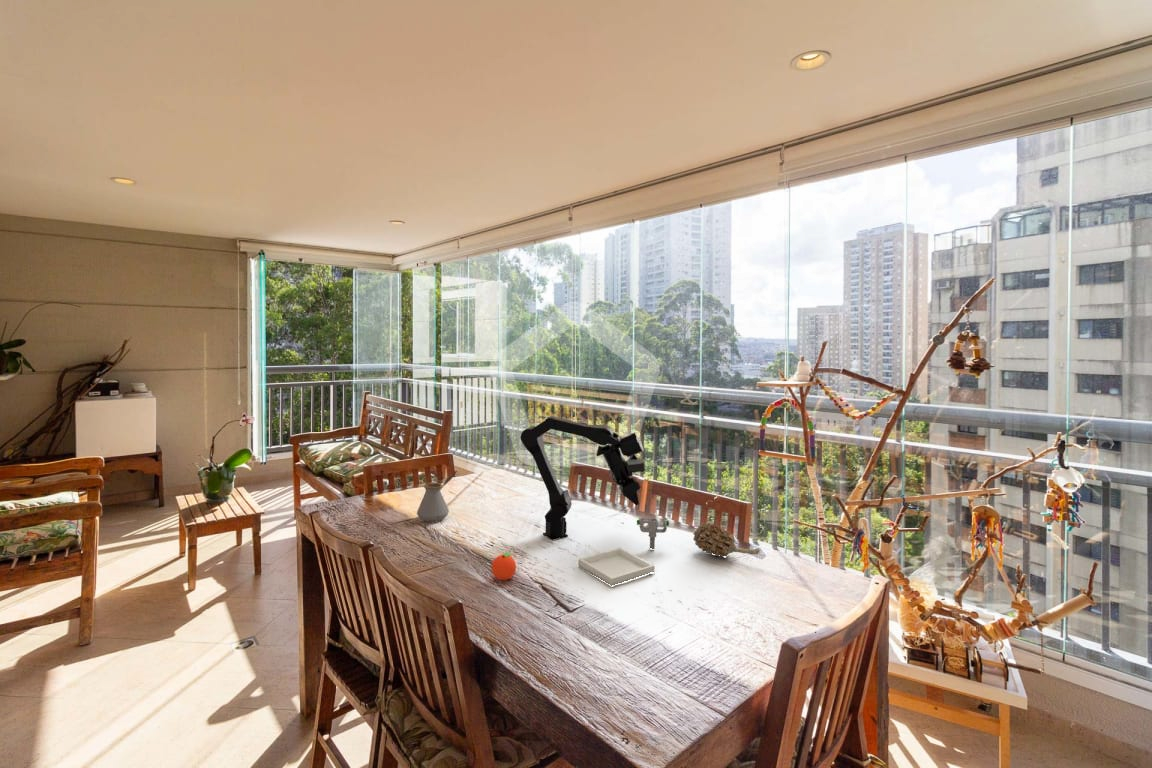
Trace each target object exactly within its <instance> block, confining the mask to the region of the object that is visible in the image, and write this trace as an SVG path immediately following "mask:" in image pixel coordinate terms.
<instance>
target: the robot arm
mask: <svg viewBox="0 0 1152 768" xmlns="http://www.w3.org/2000/svg"><path fill="white" fill-rule="evenodd" d="M550 430H553V431H559V432H563V433H566V434H570V435H575V436H578V437H583V438H586V439H588V440H589V441H591V442H593V443H596V444H598V448H597V450H596V452H595V453H596V457H599V456H600V457H601V456H603V457H604V460H605V462H606V464H607V467H608V469H609V471H608V473H609V475H610V476H611V479H612V480H613V481H614V482H615V483H616V484H617V485H618V486H619V487H618V488H619V491H620V492H621V494H622V495H623V497H625V498H627V499H628V500H629V501H630V502H632V503H633V504H634V505H635V506H638V505H640V501H639V497H638V496H639V495H638V491H639V490H640V489H641V484H640V482H639V480H637V479H636V478H634V477H632V476H634V473H644V472H645V471H646V466H645V461H644V460H643V458H641V457H637V454H640V453H643V452H644V446H643V443H642V441H641V439H640V438H639V437H638V434H637V433H636V432H632V433H630V434H629V435H628V434H627V436H623V437H622V436H621V435H619V434H618V433H616V432H615V431H614V430H613V428H612V427H611V426H610V425H607V424H585V423H581V422H577V421H572V420H567V419H564V418H559V417H556V416H555V415H551V416H549V417H547V418H545V420H544V421H541V422H540V423H539V424H537V425H536V426H535V425H532V426H529V427H527V428H525V429H524V430H522V432H520V433H521V434H520V436H519V437H520V441H521V443H522V445H523V446H524V448H525V449H526V450H527V451H528V453H530V455H531V456H532V457H533V460H534V462H535V465H536V466H537V469H538V471H539V474H540V476H541V479H542V481H543V484H544V485H545V488H546V490H547V492H548V500H549V502H548V503H549V507H550V508H549V510H548V511H547V512H546V513H545V515H544V518H545V519H544V520H545V532H543V533H542V535H543V536H545V537H546V536H547V537H546V538H548V539H550V540H551V539H552V540H551V541H554V539H556V540H559V538H560V539H563V537H564V538H567V537H569V535H568V534H567V521H566V517H565V516H566V515H567V514H568V513H569V511H570V509H571V507H572V501H573V498H572V497H571V496H570V492H569V490H568V489H565V490H564V489H563V488H562V487H561V486H560V482H559V481H558V478H557V476H556V474H555V472H554V469H553V467H552V464H551V463H550V460H549V458H548V455H547V453H546V451H545V447H544V446H545V445H544V444H545V443H544V438H543V435H544V434H546V433H547V432H549V431H550ZM624 457H627V458H628V459H627V460H626V458H624Z"/></svg>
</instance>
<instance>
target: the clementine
mask: <svg viewBox="0 0 1152 768" xmlns="http://www.w3.org/2000/svg"><path fill="white" fill-rule="evenodd" d="M512 556H513V557H514V558H513V557H512ZM515 559H516V556H515V555H514V554H512V553H505V554H499V555H498V556H496V557H495V558H494V559H493V561H492V564H491V571H492V575H493V576H494V577H495V578H496V579H498V580H500V581H507V580H509V579H511V578H512V577H513V576H514V575H515V573H516V569H517V564H516V563H517V562H516V560H515Z"/></svg>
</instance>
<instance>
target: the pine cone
mask: <svg viewBox="0 0 1152 768" xmlns="http://www.w3.org/2000/svg"><path fill="white" fill-rule="evenodd" d="M693 535H694V536H693V541H694V543H695V544H694V545H695V546H697V547H698V549H700V550H702V552H703V551H706V552H705V554H707V553H710V554H711V553H713V554H715V555H714V556H715V557H716V556H719V555H721V556H719V557H722V556H727V555H729V554H732V553H740V554H746V555H747V554H748V555H757V556H758V555H759V554H760V552H761V550H760V548H759V547H757V548H755V549H745V548H739V547H737V546H736V544H735V536H734V535H733V534H732V533H730V531H729V530H725V528H724V527H721V526H720V525H719V524H715V523H710V522H708V523H705V522H704V523H702V524H699V525H698V527H696V530H695V531H693ZM727 557H728V556H727Z"/></svg>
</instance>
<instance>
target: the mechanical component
mask: <svg viewBox="0 0 1152 768" xmlns="http://www.w3.org/2000/svg"><path fill="white" fill-rule="evenodd" d="M645 524H647V525H645ZM636 525H637V526H639V530H640V531H641V533H648V535H647V536H648V537H649V549H650V548H652V549H654V550H655V547H656V545H655V543H656V541H655V540H656V537H657V536H658V535H657V534H658V533H659V534H660V533H661V534H662V533H663V534H664V533H666V532H667V530H668V527H669V526H670V521H669V520H667V519H663V522H662V523H659V522H658V519H657V518H652V517H651V518H650V517H649V518H647V517H646V518H645V517H644V518H643V517H639V519H636ZM667 526H668V527H667Z"/></svg>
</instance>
